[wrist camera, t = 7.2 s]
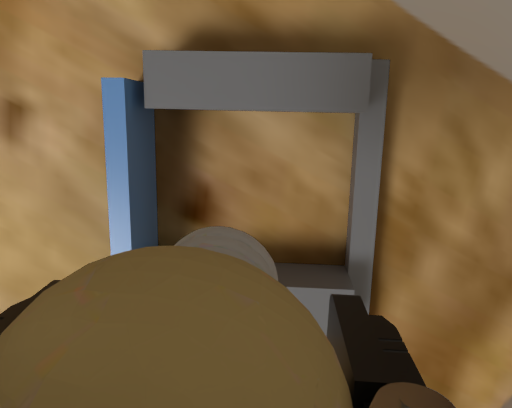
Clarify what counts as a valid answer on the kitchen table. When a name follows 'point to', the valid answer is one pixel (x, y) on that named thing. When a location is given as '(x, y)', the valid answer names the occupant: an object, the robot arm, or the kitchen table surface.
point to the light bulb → (172, 334)
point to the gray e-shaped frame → (250, 99)
